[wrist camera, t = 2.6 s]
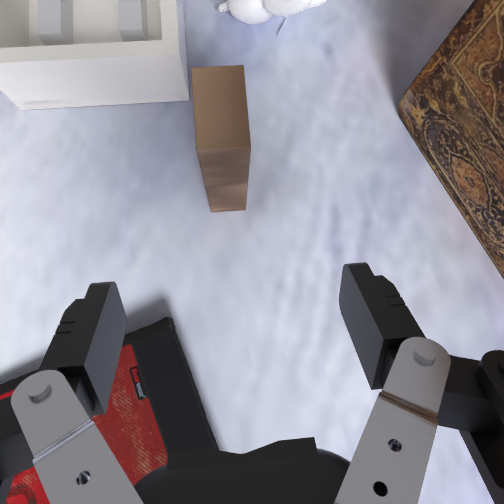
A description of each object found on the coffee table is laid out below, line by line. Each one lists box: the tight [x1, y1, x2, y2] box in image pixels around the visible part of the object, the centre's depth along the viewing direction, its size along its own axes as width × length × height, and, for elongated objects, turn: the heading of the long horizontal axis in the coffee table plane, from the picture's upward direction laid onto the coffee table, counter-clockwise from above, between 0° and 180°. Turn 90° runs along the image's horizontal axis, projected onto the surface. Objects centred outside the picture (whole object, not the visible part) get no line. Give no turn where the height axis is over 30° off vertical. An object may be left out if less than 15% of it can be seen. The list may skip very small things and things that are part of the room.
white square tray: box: [0, 0, 190, 110], centre depth 26 cm, size 12×12×5 cm
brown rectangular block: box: [191, 65, 251, 212], centre depth 22 cm, size 2×4×10 cm, turn 5°
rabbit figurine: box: [218, 0, 328, 32], centre depth 28 cm, size 6×4×8 cm
